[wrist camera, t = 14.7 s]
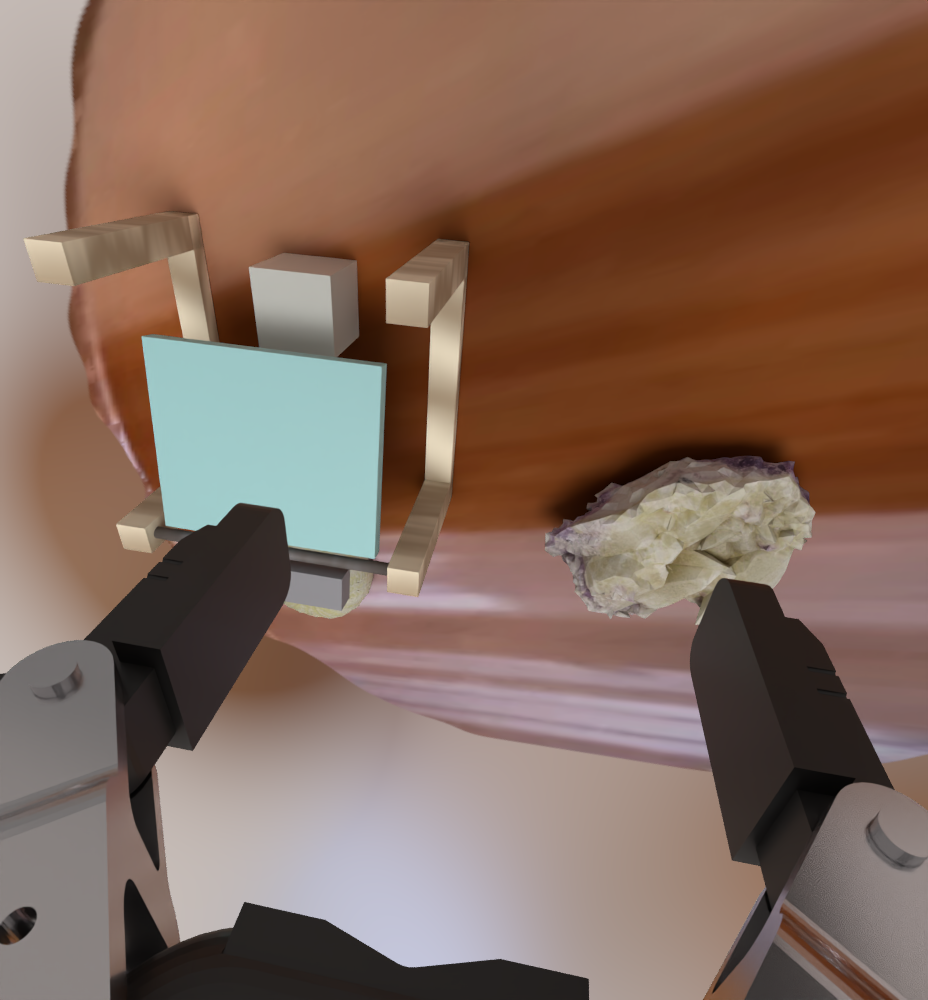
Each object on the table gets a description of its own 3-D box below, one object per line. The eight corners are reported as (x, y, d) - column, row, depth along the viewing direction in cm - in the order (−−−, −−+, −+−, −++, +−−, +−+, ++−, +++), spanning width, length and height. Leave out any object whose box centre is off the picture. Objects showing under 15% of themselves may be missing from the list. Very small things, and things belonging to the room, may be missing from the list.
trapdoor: (378, 602, 39) (371, 615, 37) (183, 570, 40) (169, 582, 38) (388, 362, 32) (380, 367, 31) (156, 333, 33) (137, 336, 32)
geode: (778, 489, 47) (674, 372, 41) (877, 541, 38) (767, 405, 32) (633, 633, 50) (515, 545, 43) (697, 712, 41) (562, 617, 35)
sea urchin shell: (246, 531, 49) (278, 573, 43) (330, 495, 53) (370, 530, 47) (277, 611, 54) (310, 658, 48) (352, 573, 57) (391, 613, 52)
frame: (169, 211, 38) (23, 238, 28) (469, 242, 36) (429, 283, 26) (217, 462, 48) (123, 548, 38) (451, 496, 46) (418, 597, 36)
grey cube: (291, 327, 41) (284, 252, 38) (359, 335, 40) (357, 260, 37) (259, 349, 36) (248, 266, 34) (334, 359, 36) (330, 276, 33)
